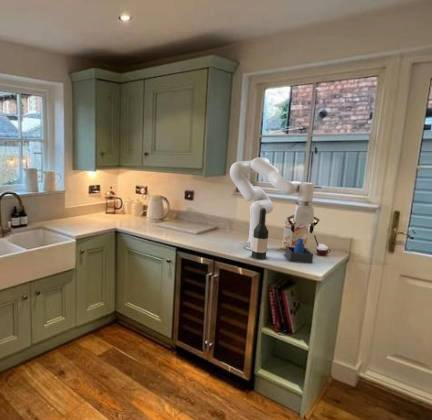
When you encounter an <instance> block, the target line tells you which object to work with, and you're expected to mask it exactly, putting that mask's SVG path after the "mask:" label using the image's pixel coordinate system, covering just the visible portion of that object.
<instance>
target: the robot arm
mask: <svg viewBox="0 0 432 420" xmlns="http://www.w3.org/2000/svg"><path fill="white" fill-rule="evenodd" d="M252 173H257V174H259V175H260V176H262V177H263V178H265V179H266V180H267V181H269V182H268V183H270V185H271V186H273V187H274V188H275V189H276V190H278V191H279V192H281V193H282V194H283V195H288V196H289V195H295V194H297V195H298V196H297V200H296V201H294V204H296V205H295V207H294V212H293V215H290V216H287V217H286V219H287V220H288V222H289V223H290V224H291V231H292V232H294V229H295V226H294V225H295V224H296V223H306V224H309V229H308V233H310V234H313V232H314V227H315V226H317V225H318V224H319V222H320V220H321V219H320V218H318V217H316V216H315V209H314V206H313V199H314V189H315V188H314V187H315V185H314V183H313V182H306V181H305V182H304V181H299V180H298V181H297V180H291V181H290V180H287V179H286V178H284V177H283V176H282V175H281V174H280V173H279V169H278V168H277V167H276V166H274V165H273V164H271V162H270V159H268V158H267V157H263V156H262V157H255V158H253V159H251V160H239V161H235V162H234V163H232V164H231V167H230V168H229V177H230V179H231V181H232V183H233V184H234V185H235V186H236V188H237V191H239V192H240V195H241V196H242V197H243V199H244V201H247V202H252V203H251V204H250V206H249V228H248V229H249V230H248V231H249V232H248V239H247V240H246V241H243V240H241V241H240V245H243V246H244V248H245V249H247V250H249V251H252V246H253V235H254V229H255V228H256V226H257V225H258V224H259V217H260V209H261V208H265V210H266V215H267V214H271V212H273V210H274V204H273V202H272V200H271V199H270V197H269V196H268V194H267V192H266V191H265V190H264V189H263V188H262V187H260V186H258V185H253V184H252V182H250V180H249V179H248V177H246V176H245V175H248V174H252ZM266 218H267V217H265V225H266V226H267V219H266ZM290 219H293V222H291V220H290ZM314 220H315V221H314Z"/></svg>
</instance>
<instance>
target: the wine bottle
mask: <svg viewBox="0 0 432 420" xmlns="http://www.w3.org/2000/svg"><path fill="white" fill-rule="evenodd" d="M266 216H267V214H266V210H265V208H261V209H260V217H259V224H258V225H257V226H256V228H255V229H254V235H253V246H252V250H251V258H252V259H254V260H260V261H261V260H266V259H267V249H268V240H269V230H268V228H267V224H266V225H265V217H266ZM266 218H267V217H266Z"/></svg>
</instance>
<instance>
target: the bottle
mask: <svg viewBox="0 0 432 420" xmlns="http://www.w3.org/2000/svg"><path fill="white" fill-rule="evenodd" d="M304 246H305V244H303V239H300V238H298V239H297V243H295V248H294V253H304Z"/></svg>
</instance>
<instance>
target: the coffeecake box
mask: <svg viewBox="0 0 432 420" xmlns="http://www.w3.org/2000/svg"><path fill="white" fill-rule="evenodd" d="M290 220H291V222H293V218H291V219H290ZM294 226H295V229H294V232H292V231H291V224H290V223H289V222H288V220H287V218H286V219H284V228H283V237H282V246H281V249H283V250H286V247H295V243H297V239H298V238H300V239H303V244H305V246H304V248H307V243H308V235H309V229H310V224H306V223H296V224H295V225H294Z"/></svg>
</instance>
